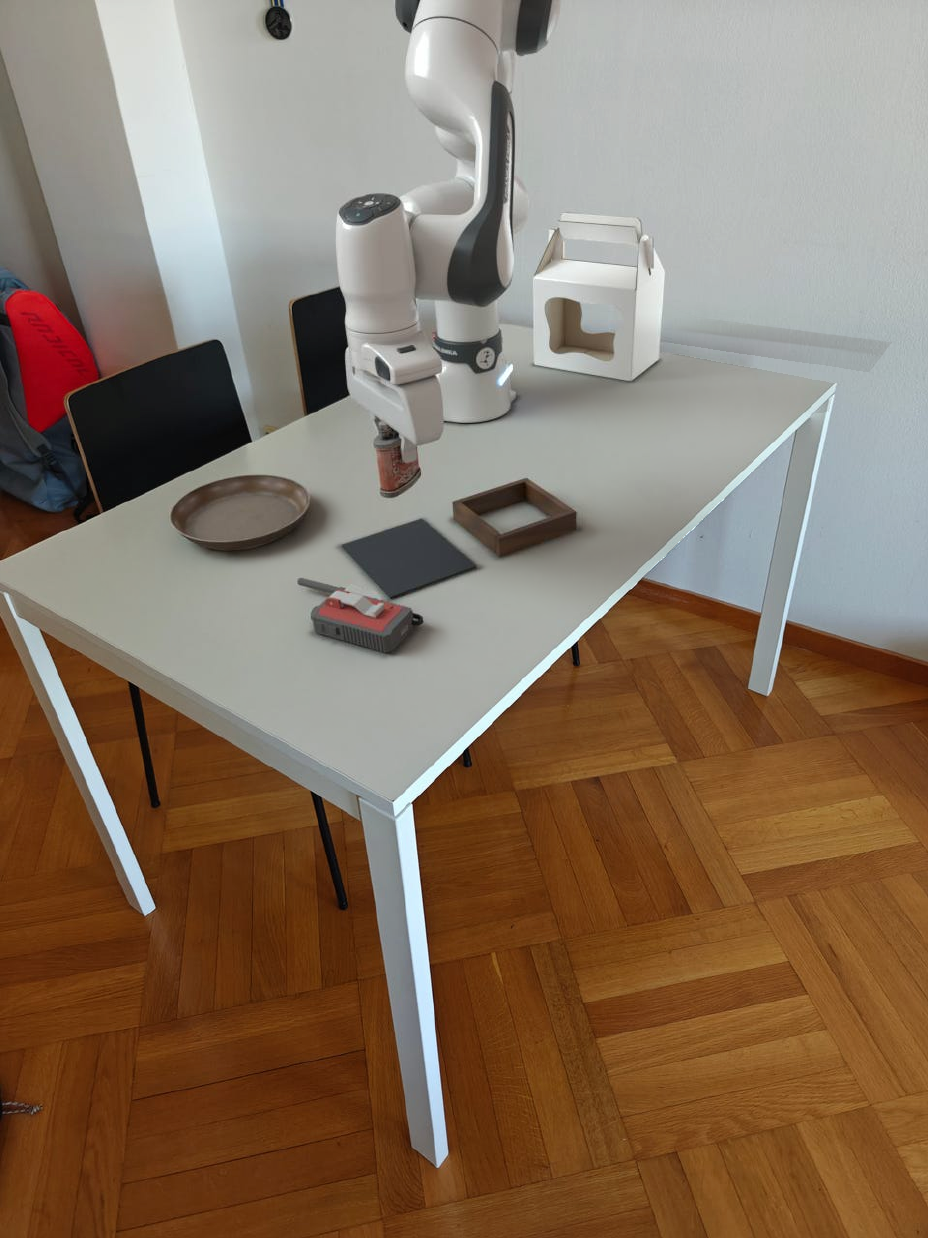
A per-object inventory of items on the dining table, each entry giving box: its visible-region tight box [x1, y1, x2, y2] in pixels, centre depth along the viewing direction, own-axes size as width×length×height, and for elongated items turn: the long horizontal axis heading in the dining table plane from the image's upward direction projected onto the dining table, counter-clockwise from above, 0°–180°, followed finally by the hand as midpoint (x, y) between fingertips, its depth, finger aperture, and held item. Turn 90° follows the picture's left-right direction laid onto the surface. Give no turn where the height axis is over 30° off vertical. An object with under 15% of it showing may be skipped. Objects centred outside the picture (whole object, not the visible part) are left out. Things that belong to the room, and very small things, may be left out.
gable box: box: [532, 211, 666, 382], centre depth 172 cm, size 22×13×28 cm, turn 56°
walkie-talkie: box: [296, 577, 424, 654], centre depth 111 cm, size 9×4×20 cm
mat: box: [341, 518, 477, 600], centre depth 123 cm, size 16×13×1 cm
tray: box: [451, 477, 578, 558], centre depth 128 cm, size 13×13×3 cm
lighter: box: [372, 420, 422, 499], centre depth 114 cm, size 8×3×10 cm, turn 153°
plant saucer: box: [169, 473, 311, 551], centre depth 133 cm, size 21×21×3 cm
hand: (397, 452), depth 114 cm, fingers closed on lighter, 5 cm apart
